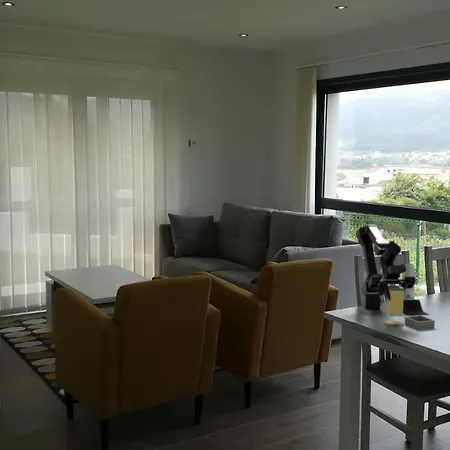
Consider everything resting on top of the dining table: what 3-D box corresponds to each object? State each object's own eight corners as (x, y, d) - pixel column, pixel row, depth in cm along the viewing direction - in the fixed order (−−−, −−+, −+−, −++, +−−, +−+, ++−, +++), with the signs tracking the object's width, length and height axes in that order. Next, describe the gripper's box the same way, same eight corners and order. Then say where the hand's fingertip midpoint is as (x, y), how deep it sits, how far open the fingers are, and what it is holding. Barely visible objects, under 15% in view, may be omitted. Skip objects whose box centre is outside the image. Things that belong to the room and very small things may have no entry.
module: (386, 312, 248) (387, 285, 247) (397, 312, 249) (399, 285, 247) (390, 316, 243) (392, 288, 242) (402, 316, 244) (404, 288, 242)
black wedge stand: (410, 315, 258) (404, 293, 263) (400, 321, 263) (394, 300, 269) (431, 316, 262) (425, 295, 267) (421, 323, 268) (415, 302, 273)
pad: (386, 328, 242) (386, 325, 242) (381, 322, 250) (381, 320, 250) (406, 328, 243) (406, 326, 242) (400, 323, 250) (400, 320, 250)
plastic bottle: (416, 307, 278) (418, 264, 275) (412, 310, 272) (414, 266, 269) (402, 304, 281) (404, 262, 279) (398, 307, 275) (400, 264, 273)
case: (391, 319, 255) (391, 311, 255) (407, 318, 258) (407, 310, 258) (418, 330, 240) (418, 322, 239) (434, 328, 243) (434, 320, 243)
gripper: (371, 256, 246) (379, 289, 237) (416, 257, 248) (425, 289, 238) (364, 271, 255) (371, 303, 245) (407, 271, 257) (416, 303, 247)
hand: (396, 299), depth 244 cm, fingers closed on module, 5 cm apart
